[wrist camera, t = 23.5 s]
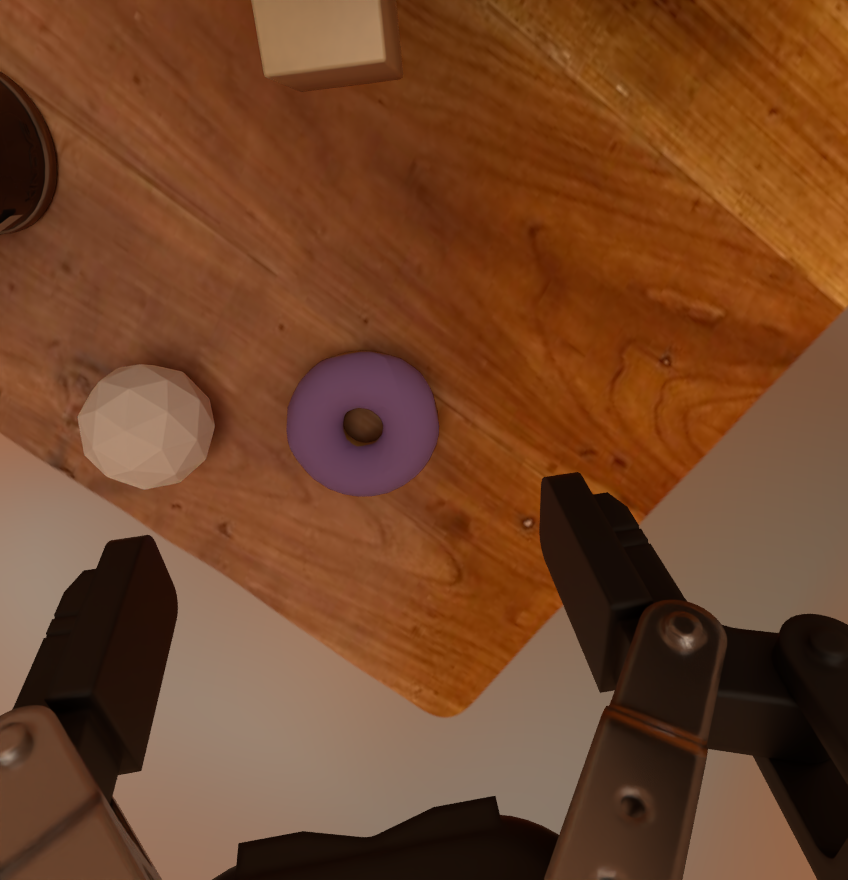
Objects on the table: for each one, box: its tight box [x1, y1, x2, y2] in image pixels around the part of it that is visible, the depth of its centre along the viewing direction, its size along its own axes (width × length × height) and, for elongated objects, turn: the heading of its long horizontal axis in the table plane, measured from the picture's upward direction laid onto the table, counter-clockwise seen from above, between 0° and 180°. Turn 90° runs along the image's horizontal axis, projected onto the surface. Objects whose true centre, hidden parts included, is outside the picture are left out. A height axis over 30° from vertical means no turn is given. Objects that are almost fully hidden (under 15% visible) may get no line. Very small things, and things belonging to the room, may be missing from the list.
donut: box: [287, 351, 439, 496], centre depth 40 cm, size 10×9×5 cm
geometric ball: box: [77, 364, 215, 490], centre depth 40 cm, size 8×8×8 cm
